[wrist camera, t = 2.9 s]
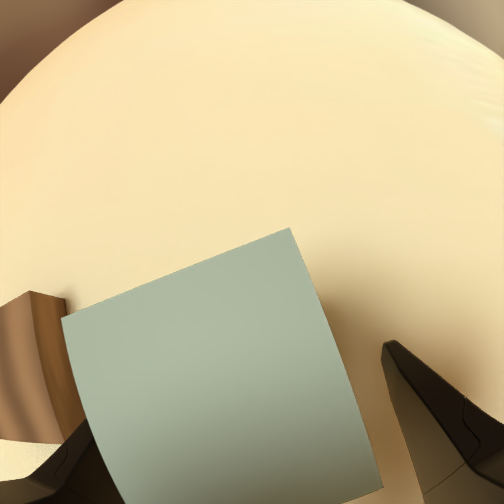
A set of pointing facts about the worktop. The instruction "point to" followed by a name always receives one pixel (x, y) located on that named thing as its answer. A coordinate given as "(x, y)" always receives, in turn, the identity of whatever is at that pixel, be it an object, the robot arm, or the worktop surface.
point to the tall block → (222, 386)
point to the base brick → (36, 372)
